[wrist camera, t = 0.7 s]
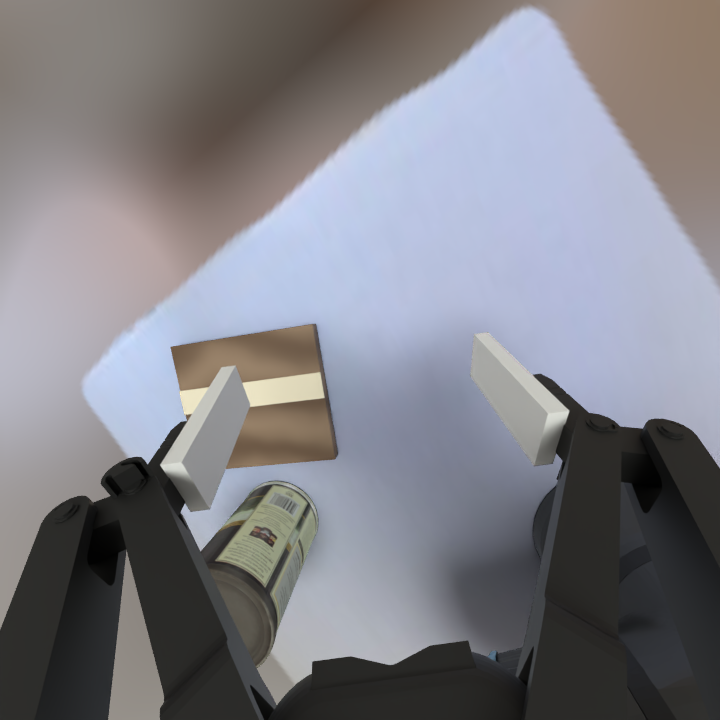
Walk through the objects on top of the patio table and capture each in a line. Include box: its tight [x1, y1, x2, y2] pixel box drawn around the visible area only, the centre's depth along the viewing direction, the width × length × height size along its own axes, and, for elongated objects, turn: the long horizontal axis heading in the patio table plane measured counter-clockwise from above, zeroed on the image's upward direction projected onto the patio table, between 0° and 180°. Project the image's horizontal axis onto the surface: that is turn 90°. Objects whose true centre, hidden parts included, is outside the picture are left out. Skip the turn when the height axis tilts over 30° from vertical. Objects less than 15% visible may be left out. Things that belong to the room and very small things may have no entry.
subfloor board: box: [171, 324, 338, 469], centre depth 37 cm, size 16×18×2 cm
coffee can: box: [201, 481, 318, 668], centre depth 32 cm, size 10×10×14 cm
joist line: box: [179, 372, 325, 415], centre depth 36 cm, size 3×18×1 cm, turn 99°
